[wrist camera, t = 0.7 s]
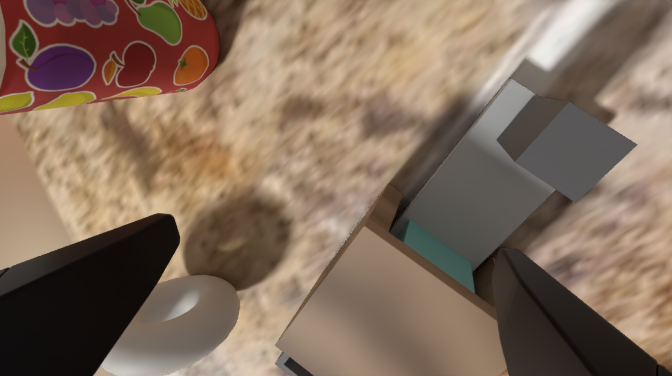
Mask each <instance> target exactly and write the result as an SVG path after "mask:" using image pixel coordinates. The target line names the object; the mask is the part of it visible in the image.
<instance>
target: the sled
mask: <svg viewBox="0 0 672 376" xmlns="http://www.w3.org/2000/svg"><path fill="white" fill-rule="evenodd" d="M636 146H637V144H636V143H634V142H632V141H631V140H629V139H628V138H626V137H625V136H623V135H622V134H620V133H618V132H617V131H615V130H614V129H612V128H611V127H609V126H607V125H606V124H604V123H603V122H601V121H600V120H598V119H596V118H595V117H593V116H592V115H590V114H589V113H587V112H585V111H584V110H582V109H581V108H579V107H578V106H576V105H574V104H573V103H571V102H570V101H564V100H558V99H552V98H546V97H540V96H538V95H536V94H535V93H533V92H531V91H530V90H528V89H527V88H525V87H524V86H522V85H521V84H519V83H517V82H516V81H514V80H513V79H508V80H507V82H506V83H505V84H504V85H503V87H502V88H501V89H500V90H499V92H498V93H497V94H496V96H495V97H494V98H493V99H492V101H491V102H490V103H489V104H488V106H487V107H486V108H485V109H484V111H483V112H482V113H481V114H480V116H479V117H478V118H477V119H476V121H475V122H474V123H473V125H472V126H471V127H470V128H469V130H468V131H467V132H466V133H465V135H464V136H463V137H462V138H461V140H460V141H459V142H458V143H457V145H456V146H455V147H454V148H453V150H452V151H451V152H450V154H449V155H448V156H447V157H446V159H445V160H444V161H443V162H442V164H441V165H440V166H439V167H438V169H437V170H436V171H435V172H434V174H433V175H432V176H431V177H430V179H429V180H428V181H427V182H426V184H425V185H424V186H423V188H422V189H421V190H420V191H419V193H418V194H417V195H416V196H415V198H414V199H413V200H412V201H411V203H410V204H409V205H408V206H407V208H406V209H405V210H404V211H403V213H402V214H401V215H400V217H399V218H398V219H397V220H396V222H395V223H394V224H393V225H392V227H391V228H390V229H389V233H390V234H392V235H393V236H395V237H396V238H397V239H399V240H400V241H402V242H403V243H404V244H406V245H407V246H409V247H410V248H411V249H413V250H414V251H416V252H417V253H418V254H420V255H421V256H423V257H424V258H425V259H427V260H428V261H430V262H431V263H432V264H434V265H435V266H437V267H438V268H439V269H441V270H442V271H444V272H445V273H446V274H448V275H449V276H451V277H452V278H453V279H455V280H456V281H458V282H459V283H460V284H462V285H463V286H465V287H466V288H467V289H469V290H470V291H472V292H473V293H474V294H475V290H474V283H473V275H472V272H473V271H474V270H475V269H476V268H477V267H478V266H479V265H480V264H481V263H482V262H483V261H484V260H485V259H486V258H487V257H488V256H489V255H490V254H491V253H492V252H493V251H494V250H495V249H496V248H497V247H498V246H499V245H500V244H501V243H502V242H503V241H504V240H505V239H506V238H507V237H509V236H510V235H511V234H512V233H513V232H514V231H515V230H516V229H517V228H518V227H519V226H520V225H521V224H522V223H523V222H524V221H525V220H526V219H527V218H528V217H529V216H530V215H531V214H532V213H533V212H534V211H535V210H536V209H537V208H538V207H539V206H540V205H541V204H542V203H543V202H544V201H545V200H546V199H547V198H548V197H549V196H550V195H551V194H552V193H553V192H554V191H555V190H557V191H559V192H560V193H562V194H563V195H565V196H566V197H568V198H569V199H571V200H572V201H574V202H575V203H576V202H577V201H578V200H579V199H580V198H581V197H582V196H583V195H584V194H585V193H587V192H588V191H589V190H590V189H591V188H592V187H593V186H594V185H595V184H596V183H597V182H598V181H599V180H600V179H601V178H603V177H604V176H605V175H606V174H607V173H608V172H609V171H610V170H611V169H612V168H613V167H614V166H615V165H616V164H617V163H619V162H620V161H621V160H622V159H623V158H624V157H625V156H626V155H627V154H628V153H629V152H630V151H631V150H632V149H633V148H635V147H636Z"/></svg>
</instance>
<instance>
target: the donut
mask: <svg viewBox="0 0 672 376" xmlns="http://www.w3.org/2000/svg"><path fill="white" fill-rule="evenodd" d="M239 310H240V300H239V298H238V295H237V293H236V291H235V288H234V287H233V286H232V285H231V284H230V283H228V282H227V281H225V280H223V279H222V278H219V277H215V276H210V275H191V276H185V277H180V278H175V279H171V280H168V281H165V282H161V283H159V284H157V285H156V286H155V288H154V289H153V291H152V292H151V294H150V295H149V297H148V298H147V300H146V301H145V303H144V304H143V305H142V307H141V308H140V310H139V311H138V313H137V314H136V315H135V317H134V318H133V320H132V321H131V323H130V324H129V325H128V327H127V328H126V330H125V331H124V333H123V334H122V335H121V337H120V338H119V340H118V341H117V343H116V344H115V345H114V347H113V348H112V350H111V351H110V353H109V354H108V355H107V357H106V358H105V360H104V361H103V363H102V364H101V365H102V367H103V368H104V369H105V370H106V371H108V372H110V373H112V374H114V375H117V376H164V375H168V374H171V373H173V372H176V371H178V370H181V369H183V368H186V367H188V366H190V365H192V364H194V363H195V362H197V361H199V360H200V359H202V358H203V357H205V356H207V355H208V354H210V353H211V352H212V351H213V350H214V349H215V348H216V347H218V346H219V345H220V344H221V343H222V342H223V341H224V340H225V339H226V338H227V336H228V335H229V333H230V332H231V330H232V329H233V328H234V326H235V325H236V322H237V319H238V315H239Z"/></svg>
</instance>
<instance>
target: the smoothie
mask: <svg viewBox="0 0 672 376" xmlns="http://www.w3.org/2000/svg"><path fill="white" fill-rule="evenodd" d="M219 50H220V45H219V34H218V31H217V27H216V24H215V21H214V20H213V18H212V16H211V15H210V13H209V12H208V10H207V9H206V8H205V7H204V5H203V4H202V2H201V1H200V0H0V115H5V114H12V113H20V112H28V111H36V110H43V109H51V108H59V107H67V106H74V105H82V104H90V103H98V102H106V101H113V100H121V99H129V98H137V97H144V96H152V95H160V94H168V93H175V92H184V91H187V90H190V89H192V88H195V87H196V86H198V85H199V84H200V83H201V82H202V81H203V80H204V79H205V78H206V77H207V76H208V75H209V74H211V73H212V71H213V69H214V67H215V65H216V63H217V60H218V55H219Z"/></svg>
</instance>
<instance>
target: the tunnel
mask: <svg viewBox="0 0 672 376" xmlns="http://www.w3.org/2000/svg"><path fill="white" fill-rule="evenodd" d="M402 196H403V194H402V193H401V192H400V191H398V190H397V189H395V188H394V187H392V186H391V185H390V184H388V185H387V186H386V187H385V189H384V190H383V192H382V193H381V194H380V196H379V197H378V198H377V200H376V201H375V202H374V204H373V205H372V207H371V208H370V209H369V211H368V212H367V213H366V215H365V216H364V217H363V219H362V220H361V222H360V223H359V224H358V226H357V227H356V228H355V230H354V231H353V232H352V234H351V235H350V237H349V238H348V239H347V241H346V242H345V243H344V245H343V246H342V247H341V249H340V250H339V252H338V253H337V254H336V256H335V257H334V258H333V260H332V261H331V262H330V264H329V265H328V267H327V268H326V269H325V271H324V272H323V273H322V275H321V276H320V277H319V279H318V280H317V282H316V283H315V285H314V286H313V288H312V289H311V291H310V292H309V294H308V295H307V297H306V299H305V300H304V302H303V303H302V305H301V306H300V308H299V309H298V311H297V312H296V314H295V315H294V317H293V318H292V320H291V322H290V323H289V325H288V326H287V328H286V329H285V331H284V332H283V334H282V335H281V337H280V338H279V340H278V342H277V343H276V345H275V346H276V347H278V348H279V349H280V350H282V351H283V352H284V353H285V354H287V355H288V356H289V357H291V358H292V359H293V360H294V361H296V362H297V363H298V364H300V365H301V366H302V367H304V368H305V369H306V370H307V371H309V372H310V373H311V374H313V375H314V376H498V375H500V374H501V373H502V372H504V371H505V370H506V369H507V366H506V362H505V358H504V354H503V351H502V346H501V342H500V337H499V331H498V323H497V316H496V309H495V301H494V294H493V287H492V273H493V269H494V265H495V261H496V258H494V257H493V256H492V257H491V258H490V259H489V260H488V261H487V262H486V263H485V264H484V265H483V266H482V267H481V268H480V269H479V270H478V271H477V272H476V273H475V274H474V275H473V283H474V290H475V294H474V293H473V292H472V291H470V290H469V289H467V288H466V287H465V286H463V285H462V284H460V283H459V282H458V281H456V280H455V279H453V278H452V277H451V276H449V275H448V274H446V273H445V272H444V271H442V270H441V269H439V268H438V267H437V266H435V265H434V264H432V263H431V262H430V261H428V260H427V259H425V258H424V257H423V256H421V255H420V254H418V253H417V252H416V251H414V250H413V249H411V248H410V247H409V246H407V245H406V244H404V243H403V242H402V241H400V240H399V239H397V238H396V237H395V236H393V235H392V234H390V233H389V229H390V226H391V224H392V221H393V219H394V216H395V214H396V211H397V208H398V206H399V203H400V201H401V198H402Z"/></svg>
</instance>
